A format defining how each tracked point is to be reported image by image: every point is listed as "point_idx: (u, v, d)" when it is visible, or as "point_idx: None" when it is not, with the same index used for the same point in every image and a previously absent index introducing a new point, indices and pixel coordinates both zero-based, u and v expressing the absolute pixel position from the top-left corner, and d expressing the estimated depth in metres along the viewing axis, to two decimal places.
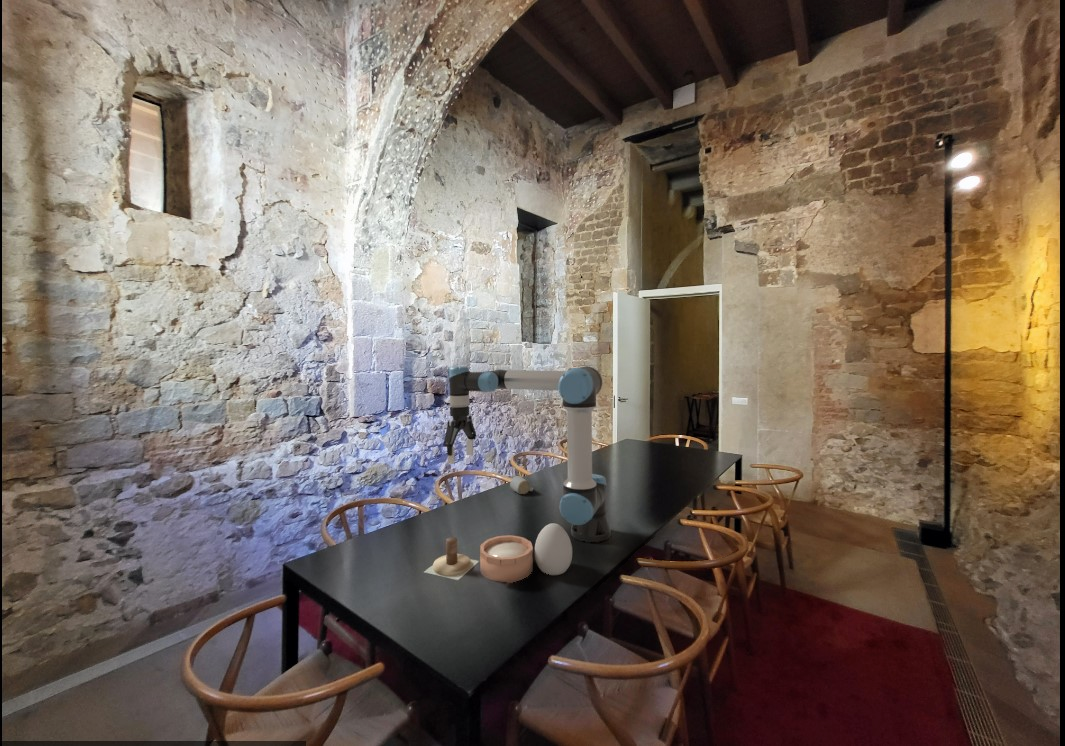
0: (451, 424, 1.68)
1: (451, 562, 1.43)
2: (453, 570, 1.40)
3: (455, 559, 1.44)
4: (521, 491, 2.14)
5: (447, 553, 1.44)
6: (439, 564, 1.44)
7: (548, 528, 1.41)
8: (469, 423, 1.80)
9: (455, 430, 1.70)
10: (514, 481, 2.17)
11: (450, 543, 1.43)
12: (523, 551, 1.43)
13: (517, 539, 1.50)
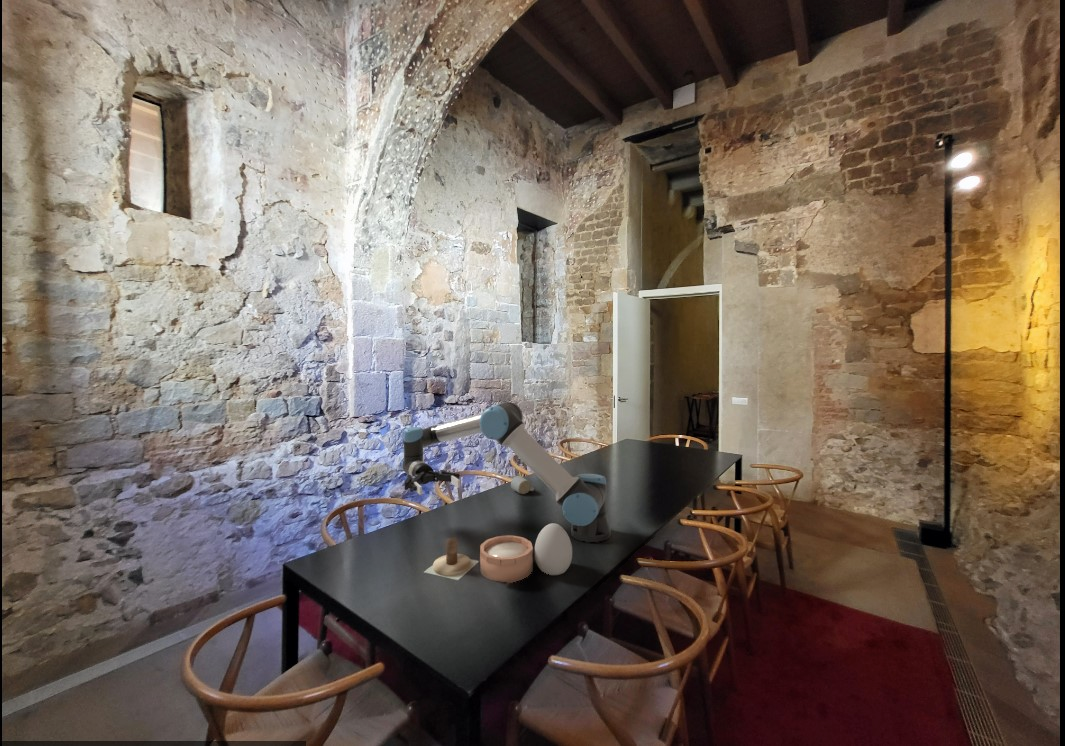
0: None
1: (451, 562, 1.43)
2: (453, 570, 1.40)
3: (455, 559, 1.44)
4: (522, 491, 2.15)
5: (447, 553, 1.44)
6: (439, 564, 1.44)
7: (548, 528, 1.41)
8: (443, 473, 1.66)
9: None
10: (515, 481, 2.18)
11: (450, 543, 1.43)
12: (523, 551, 1.43)
13: (517, 539, 1.50)
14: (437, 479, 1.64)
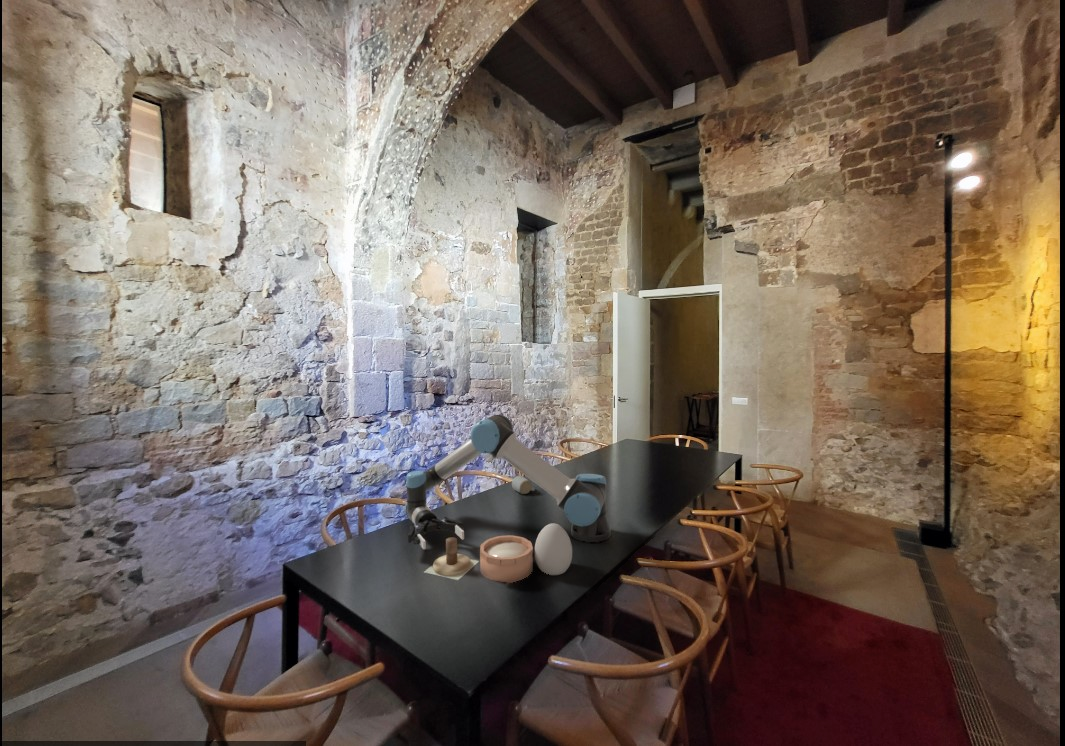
0: (411, 527, 1.59)
1: (451, 562, 1.43)
2: (453, 570, 1.40)
3: (455, 559, 1.44)
4: (523, 491, 2.15)
5: (447, 553, 1.44)
6: (439, 564, 1.44)
7: (548, 528, 1.41)
8: (447, 521, 1.64)
9: None
10: (516, 481, 2.18)
11: (450, 543, 1.43)
12: (523, 551, 1.43)
13: (517, 539, 1.50)
14: (441, 528, 1.61)
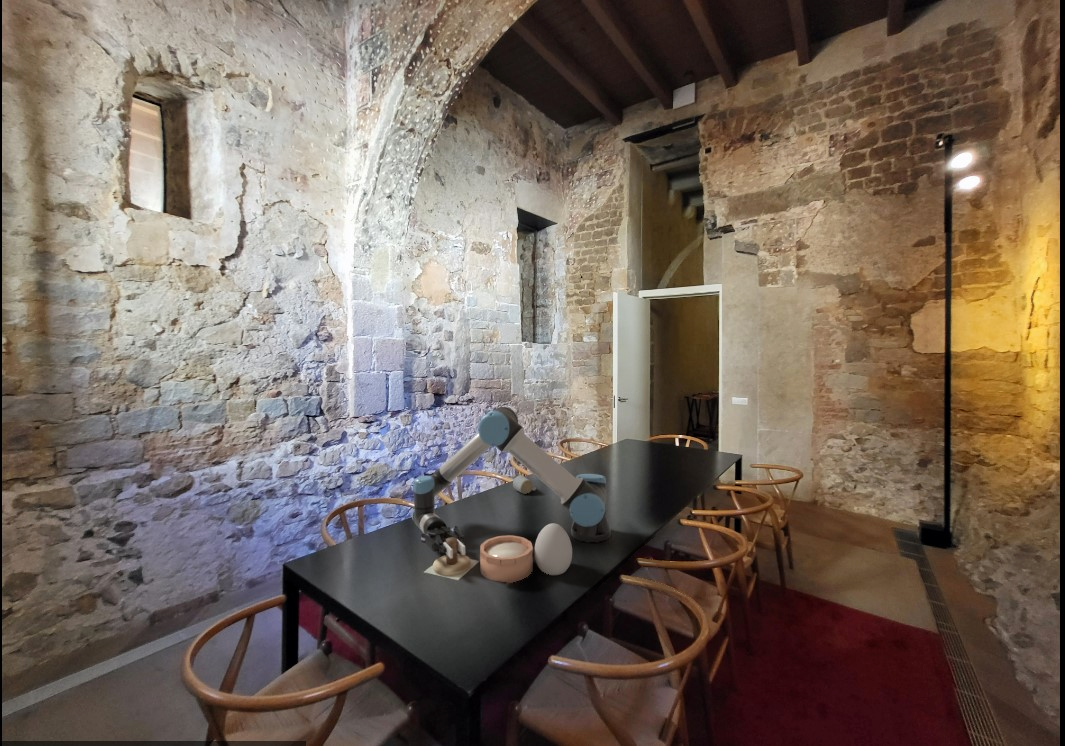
0: (423, 537, 1.50)
1: (451, 562, 1.43)
2: (453, 570, 1.40)
3: (455, 559, 1.44)
4: (524, 490, 2.15)
5: None
6: (439, 564, 1.44)
7: (548, 528, 1.41)
8: (454, 531, 1.55)
9: (435, 537, 1.50)
10: (517, 481, 2.18)
11: (450, 543, 1.43)
12: (523, 551, 1.43)
13: (517, 539, 1.50)
14: (446, 538, 1.52)
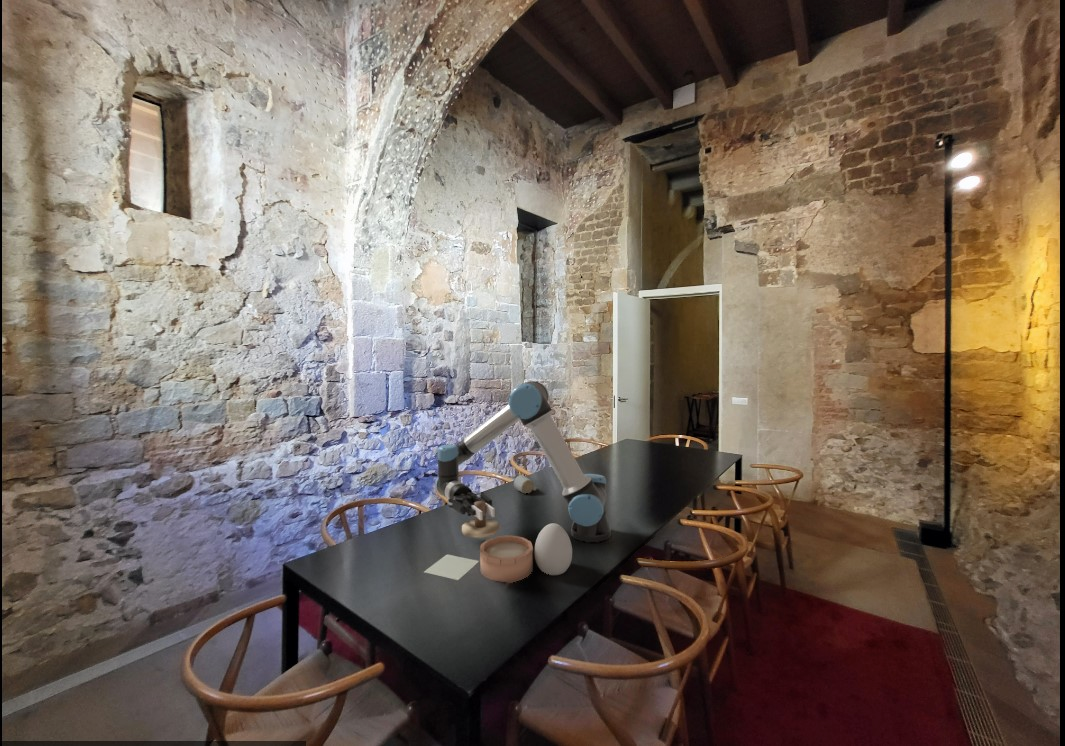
0: (450, 502, 1.49)
1: (479, 525, 1.42)
2: (483, 532, 1.39)
3: (484, 522, 1.43)
4: (525, 490, 2.15)
5: None
6: (468, 527, 1.42)
7: (548, 528, 1.41)
8: (481, 497, 1.53)
9: (463, 501, 1.49)
10: (518, 480, 2.19)
11: (479, 506, 1.42)
12: (523, 551, 1.43)
13: (517, 539, 1.50)
14: (473, 503, 1.51)
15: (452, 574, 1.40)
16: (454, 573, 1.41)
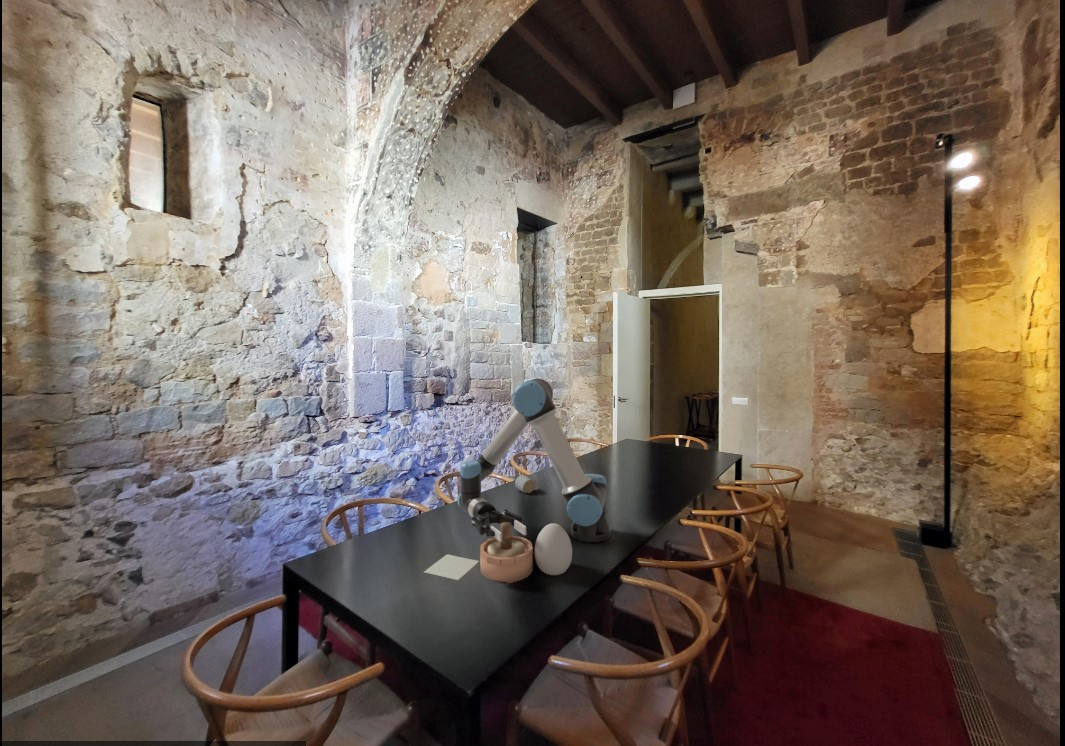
0: (473, 520, 1.49)
1: (506, 547, 1.42)
2: (509, 554, 1.38)
3: (510, 544, 1.42)
4: (526, 490, 2.16)
5: (502, 538, 1.42)
6: (494, 549, 1.42)
7: (548, 528, 1.41)
8: (507, 514, 1.54)
9: (485, 521, 1.48)
10: (519, 480, 2.19)
11: (505, 527, 1.41)
12: None
13: (517, 539, 1.50)
14: (500, 521, 1.51)
15: (452, 574, 1.40)
16: (454, 573, 1.41)
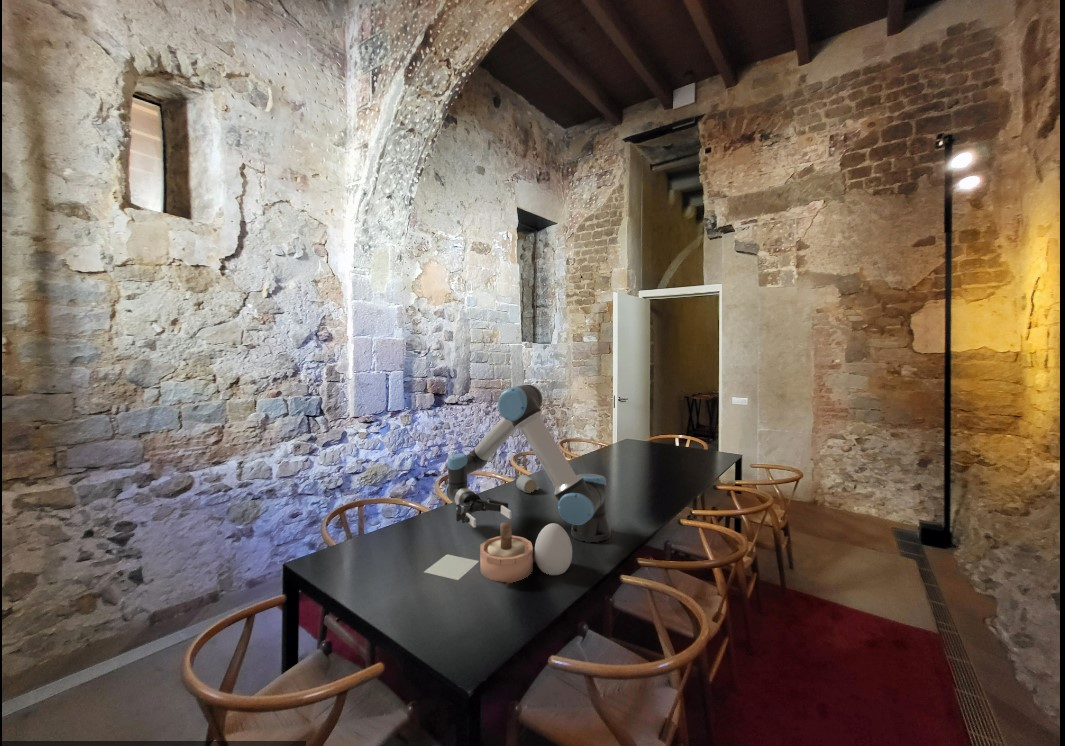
0: (457, 507, 1.61)
1: (506, 547, 1.42)
2: (509, 554, 1.38)
3: (510, 544, 1.42)
4: (527, 490, 2.16)
5: (502, 538, 1.42)
6: (494, 549, 1.42)
7: (548, 528, 1.41)
8: (491, 502, 1.66)
9: None
10: (520, 480, 2.19)
11: (505, 527, 1.41)
12: None
13: (517, 539, 1.50)
14: (486, 508, 1.63)
15: (452, 574, 1.40)
16: (454, 573, 1.41)
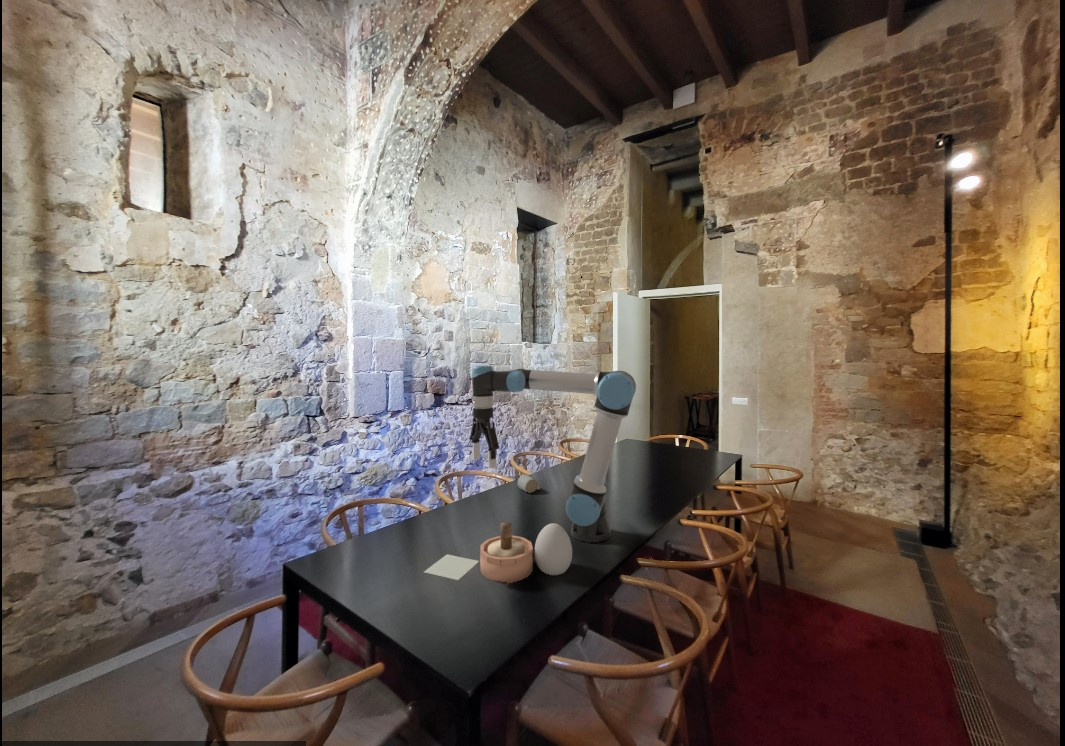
0: (493, 426, 1.59)
1: (506, 547, 1.42)
2: (509, 554, 1.38)
3: (510, 544, 1.42)
4: (528, 490, 2.16)
5: (502, 538, 1.42)
6: (494, 549, 1.42)
7: (548, 528, 1.41)
8: None
9: None
10: (521, 480, 2.20)
11: (505, 527, 1.41)
12: None
13: (517, 539, 1.50)
14: (478, 431, 1.67)
15: (452, 574, 1.40)
16: (454, 573, 1.41)
